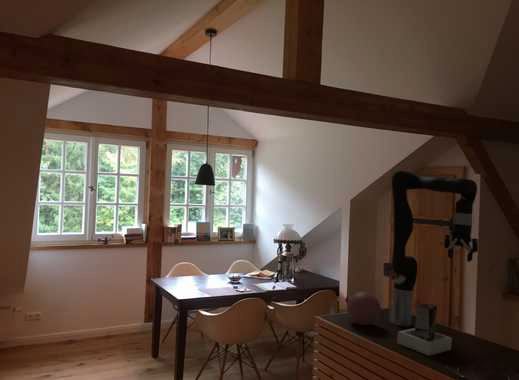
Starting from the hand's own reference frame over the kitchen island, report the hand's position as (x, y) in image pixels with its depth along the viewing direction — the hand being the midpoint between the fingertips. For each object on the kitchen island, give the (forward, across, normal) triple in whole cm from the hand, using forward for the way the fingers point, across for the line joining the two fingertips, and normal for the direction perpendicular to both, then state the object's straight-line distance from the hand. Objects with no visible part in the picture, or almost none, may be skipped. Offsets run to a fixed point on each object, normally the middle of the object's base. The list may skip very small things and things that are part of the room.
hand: (459, 259), depth 197 cm
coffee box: (+35, +1, +21) cm, 41 cm away
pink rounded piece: (+36, +35, +22) cm, 55 cm away
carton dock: (+36, +1, +21) cm, 42 cm away
